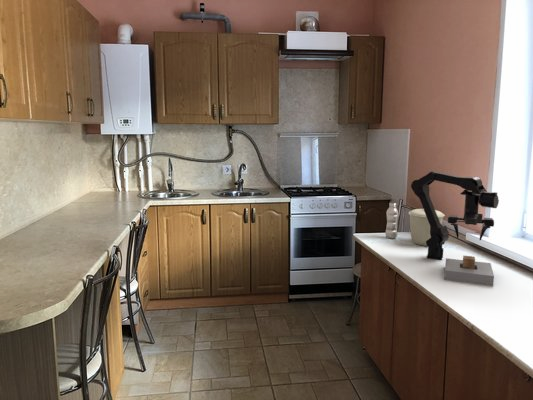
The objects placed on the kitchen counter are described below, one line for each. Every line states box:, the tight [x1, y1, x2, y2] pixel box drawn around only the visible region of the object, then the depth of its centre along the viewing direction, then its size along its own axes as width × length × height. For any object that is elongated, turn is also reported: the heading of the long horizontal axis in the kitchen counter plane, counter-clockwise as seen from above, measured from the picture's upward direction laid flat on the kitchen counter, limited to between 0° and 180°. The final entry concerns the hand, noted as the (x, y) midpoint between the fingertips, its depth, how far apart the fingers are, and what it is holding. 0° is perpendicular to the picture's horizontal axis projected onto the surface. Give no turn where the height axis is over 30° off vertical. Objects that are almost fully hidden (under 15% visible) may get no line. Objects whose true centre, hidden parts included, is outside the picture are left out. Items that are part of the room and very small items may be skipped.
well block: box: [444, 257, 495, 286], centre depth 186 cm, size 18×18×4 cm
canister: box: [408, 208, 446, 247], centre depth 235 cm, size 18×18×21 cm
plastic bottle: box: [384, 202, 399, 239], centre depth 247 cm, size 6×7×20 cm
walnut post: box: [462, 255, 476, 269], centre depth 186 cm, size 4×4×8 cm
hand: (468, 239), depth 199 cm, fingers open, 9 cm apart
